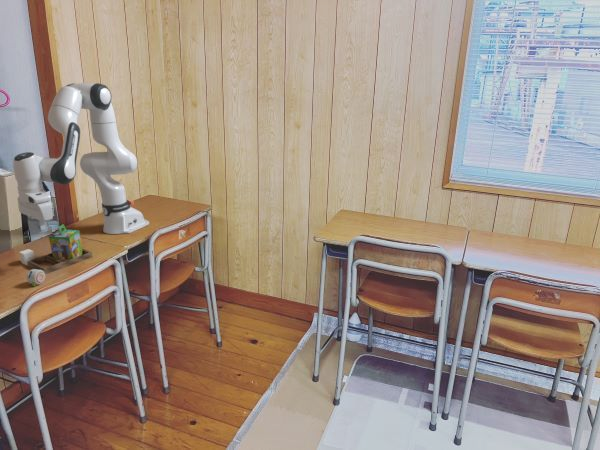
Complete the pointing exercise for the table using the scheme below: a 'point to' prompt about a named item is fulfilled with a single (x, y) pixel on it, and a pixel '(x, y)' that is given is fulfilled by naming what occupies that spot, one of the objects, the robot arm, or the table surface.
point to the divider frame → (57, 261)
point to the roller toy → (35, 277)
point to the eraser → (26, 256)
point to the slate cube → (36, 226)
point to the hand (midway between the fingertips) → (38, 227)
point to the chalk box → (66, 244)
